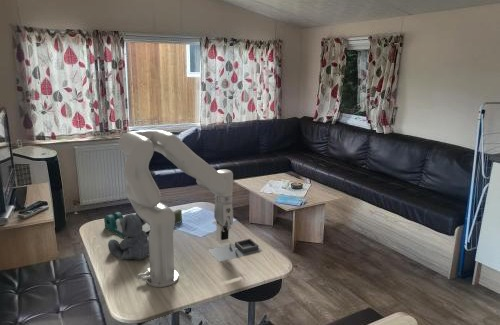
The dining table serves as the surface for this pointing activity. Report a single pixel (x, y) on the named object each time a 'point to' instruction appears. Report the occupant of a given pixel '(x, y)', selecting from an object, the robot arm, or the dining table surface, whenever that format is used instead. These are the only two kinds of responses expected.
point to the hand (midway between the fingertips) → (222, 236)
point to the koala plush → (130, 239)
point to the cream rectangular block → (218, 234)
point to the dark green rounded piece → (113, 222)
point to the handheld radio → (177, 217)
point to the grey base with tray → (235, 250)
